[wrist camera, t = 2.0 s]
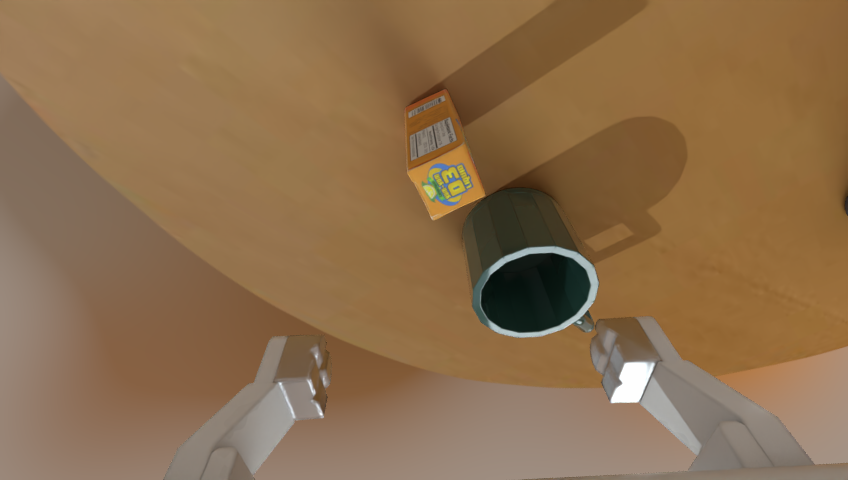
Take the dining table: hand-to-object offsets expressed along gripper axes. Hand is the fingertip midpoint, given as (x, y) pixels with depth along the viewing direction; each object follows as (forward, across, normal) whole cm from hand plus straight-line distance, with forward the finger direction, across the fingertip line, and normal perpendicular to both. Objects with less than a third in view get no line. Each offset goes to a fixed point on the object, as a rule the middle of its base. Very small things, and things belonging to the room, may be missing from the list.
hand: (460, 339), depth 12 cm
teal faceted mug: (+19, -7, +11) cm, 23 cm away
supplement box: (+20, 0, 0) cm, 20 cm away
